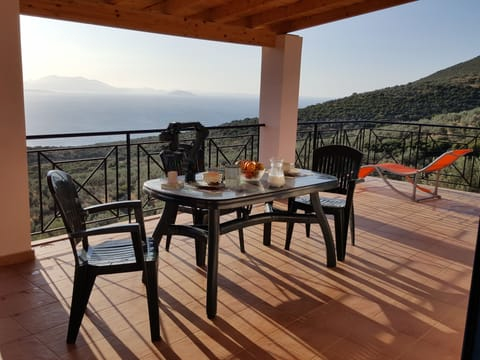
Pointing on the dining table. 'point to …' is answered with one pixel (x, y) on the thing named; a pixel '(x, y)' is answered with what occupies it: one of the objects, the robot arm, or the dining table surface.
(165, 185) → the rack
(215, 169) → the food container
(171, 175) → the pink tall block
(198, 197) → the dining table surface
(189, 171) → the robot arm
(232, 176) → the coffee can
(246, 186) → the dining table surface
